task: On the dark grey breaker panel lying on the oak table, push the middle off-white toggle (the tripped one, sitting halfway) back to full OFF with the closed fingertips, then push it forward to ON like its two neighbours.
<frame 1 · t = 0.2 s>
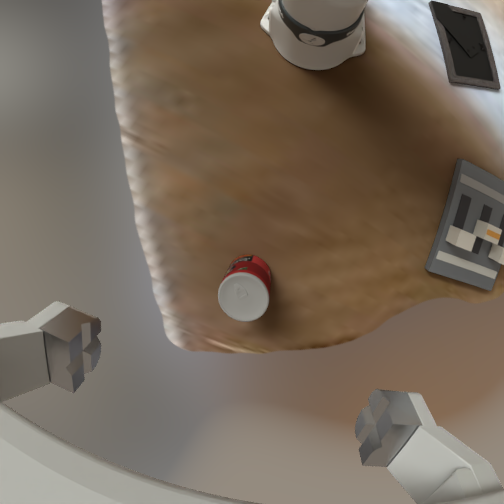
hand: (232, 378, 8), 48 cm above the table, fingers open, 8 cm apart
breaker 1: (460, 238, 49), point 4 cm above the table, slide at 3.0 cm
breaker 2: (501, 255, 48), point 4 cm above the table, slide at 3.0 cm
picture frame: (464, 46, 43), on the table
panel: (476, 227, 52), on the table
breaker mid: (487, 232, 48), point 4 cm above the table, slide at 0.0 cm
canned food: (249, 273, 58), on the table
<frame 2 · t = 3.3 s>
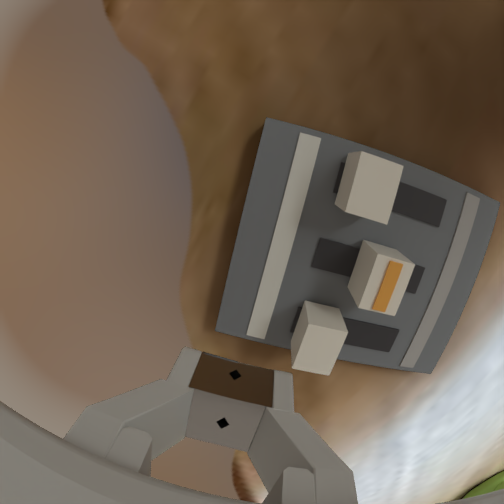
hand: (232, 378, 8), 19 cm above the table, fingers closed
breaker 1: (367, 186, 21), point 4 cm above the table, slide at 3.0 cm
breaker 2: (317, 337, 24), point 4 cm above the table, slide at 3.0 cm
panel: (365, 259, 27), on the table
breaker mid: (379, 277, 22), point 4 cm above the table, slide at 0.0 cm
teapot: (489, 483, 36), on the table
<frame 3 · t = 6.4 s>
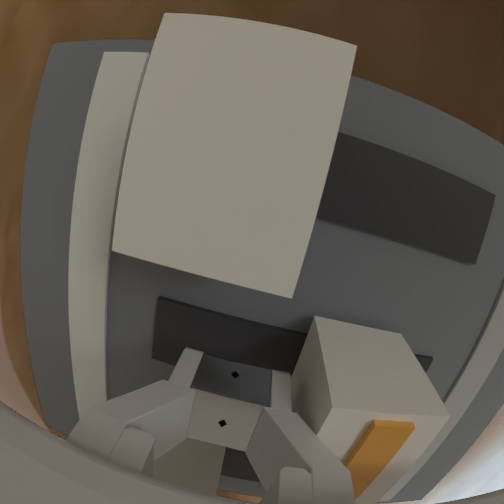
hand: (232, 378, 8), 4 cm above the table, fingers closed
breaker 1: (241, 150, 6), point 4 cm above the table, slide at 3.0 cm
breaker 2: (174, 488, 10), point 4 cm above the table, slide at 3.0 cm
panel: (294, 334, 12), on the table
breaker mid: (347, 419, 8), point 4 cm above the table, slide at -1.4 cm, touching gripper
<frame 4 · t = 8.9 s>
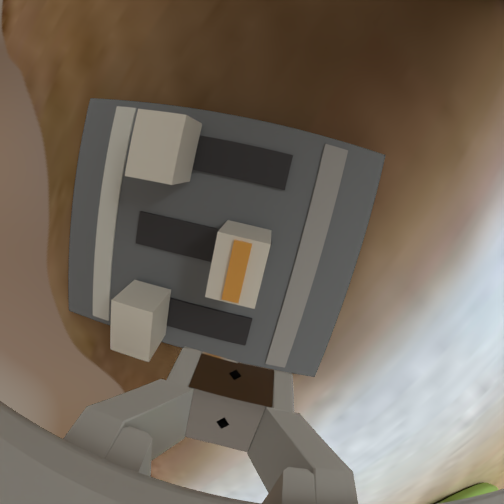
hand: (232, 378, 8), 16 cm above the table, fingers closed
breaker 1: (165, 147, 19), point 4 cm above the table, slide at 3.0 cm
breaker 2: (140, 319, 22), point 4 cm above the table, slide at 3.0 cm
panel: (206, 235, 24), on the table
breaker mid: (240, 262, 20), point 4 cm above the table, slide at -3.1 cm
teapot: (453, 501, 34), on the table
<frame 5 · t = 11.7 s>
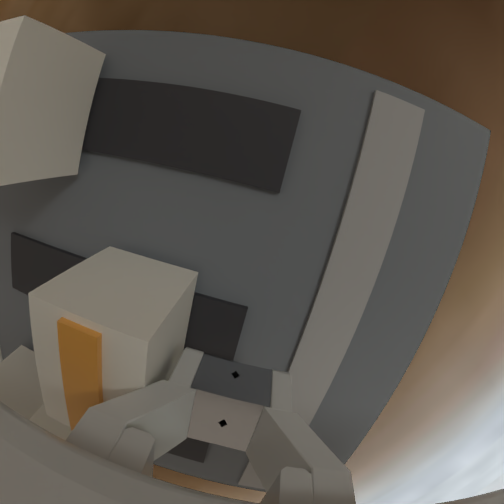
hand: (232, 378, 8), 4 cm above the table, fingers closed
breaker 1: (16, 104, 6), point 4 cm above the table, slide at 3.0 cm
breaker 2: (28, 414, 10), point 4 cm above the table, slide at 3.0 cm
panel: (129, 277, 12), on the table
breaker mid: (117, 347, 8), point 4 cm above the table, slide at -1.6 cm, touching gripper
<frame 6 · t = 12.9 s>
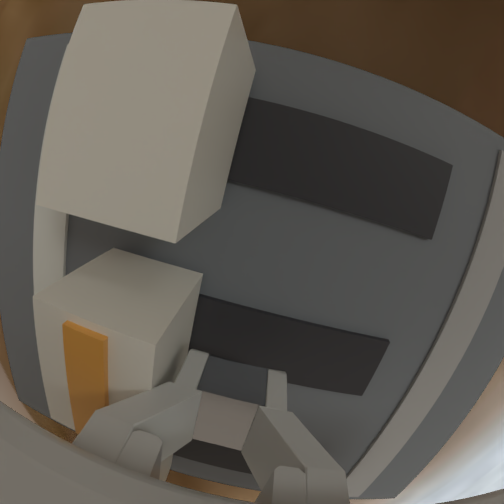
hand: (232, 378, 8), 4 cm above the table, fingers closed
breaker 1: (160, 118, 6), point 4 cm above the table, slide at 3.0 cm
breaker 2: (126, 463, 10), point 4 cm above the table, slide at 3.0 cm
panel: (247, 312, 12), on the table
breaker mid: (121, 350, 8), point 4 cm above the table, slide at 3.1 cm, touching gripper
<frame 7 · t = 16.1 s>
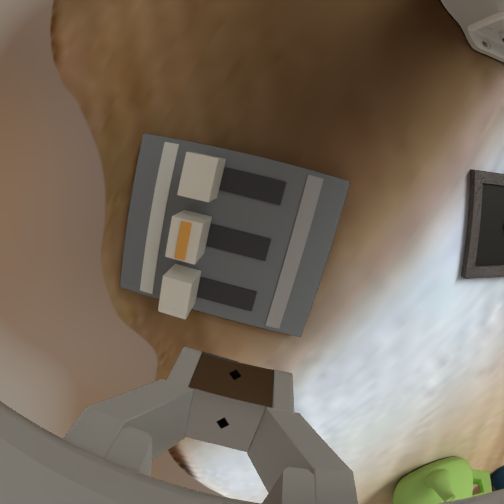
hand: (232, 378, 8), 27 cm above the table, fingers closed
breaker 1: (202, 175, 30), point 4 cm above the table, slide at 3.0 cm
breaker 2: (179, 290, 33), point 4 cm above the table, slide at 3.0 cm
soda can: (497, 471, 46), on the table
panel: (226, 234, 35), on the table
breaker mid: (188, 236, 31), point 4 cm above the table, slide at 3.1 cm
teapot: (429, 472, 45), on the table
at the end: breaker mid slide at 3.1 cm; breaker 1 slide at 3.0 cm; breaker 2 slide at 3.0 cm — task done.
